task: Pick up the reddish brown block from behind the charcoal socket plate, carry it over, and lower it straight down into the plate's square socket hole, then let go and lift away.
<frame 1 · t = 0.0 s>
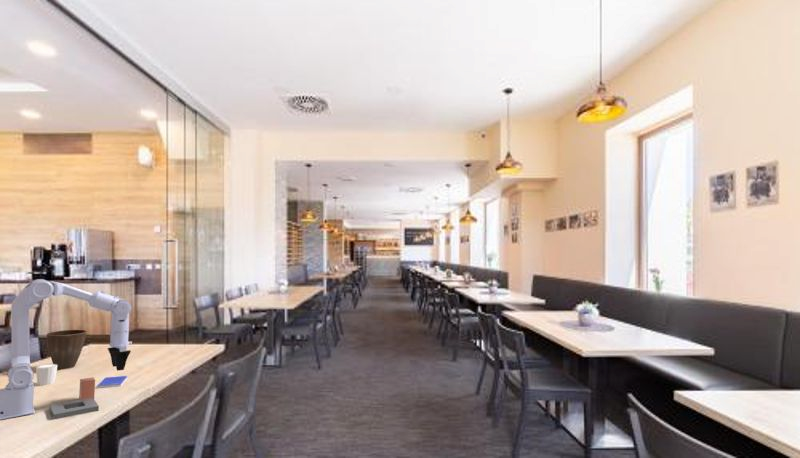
hand: (118, 368, 166), 10 cm above the table, tool pointing down, fingers open, 7 cm apart
white tapered cup: (46, 383, 181), on the table
reddish brown block: (86, 399, 162), on the table
plant pot: (65, 367, 206), on the table
socket plate: (74, 409, 150), on the table
hard drive: (112, 384, 182), on the table
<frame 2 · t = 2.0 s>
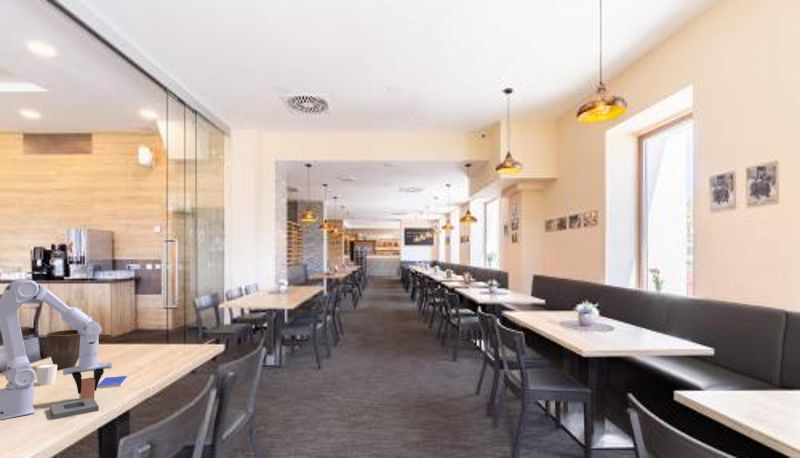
hand: (87, 391, 162), 3 cm above the table, tool pointing down, fingers closed on reddish brown block, 4 cm apart
reddish brown block: (86, 398, 162), on the table, touching gripper
everything else where it was.
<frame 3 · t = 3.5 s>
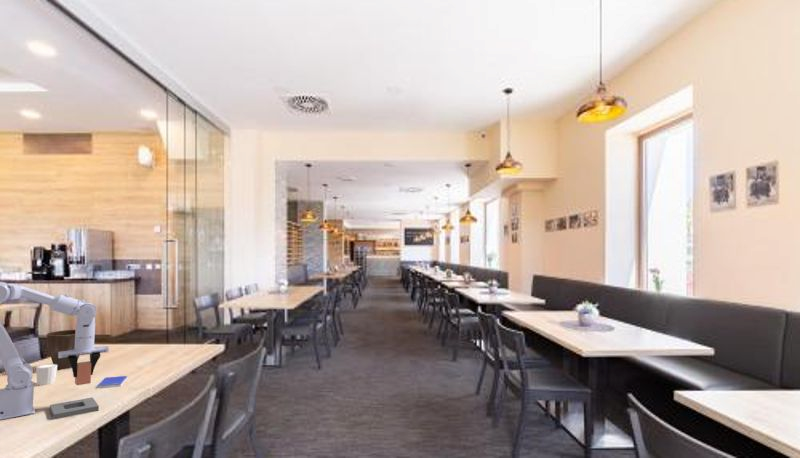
hand: (82, 375, 158), 10 cm above the table, tool pointing down, fingers closed on reddish brown block, 4 cm apart
reddish brown block: (82, 383, 158), point 7 cm above the table, touching gripper
everything else where it was.
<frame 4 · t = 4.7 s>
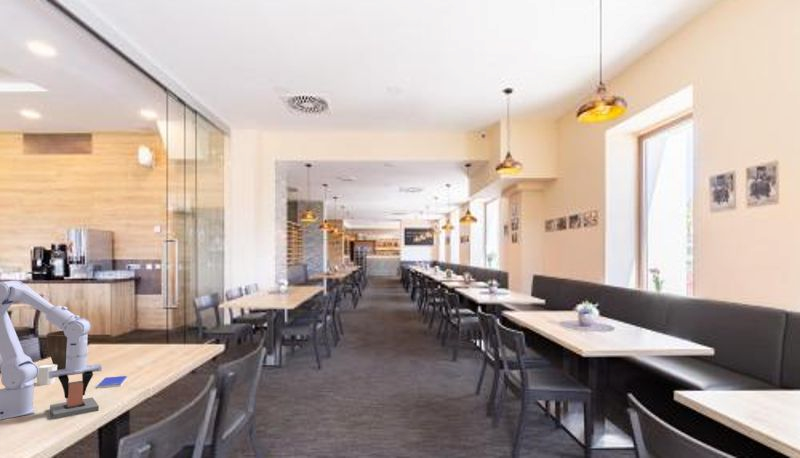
hand: (74, 396, 151), 5 cm above the table, tool pointing down, fingers closed on reddish brown block, 4 cm apart
reddish brown block: (74, 404, 151), point 2 cm above the table, touching gripper
everything else where it was.
when the fingers open (3 cm above the table, at t = 5.5 s): reddish brown block stays where it is, resting in socket plate.
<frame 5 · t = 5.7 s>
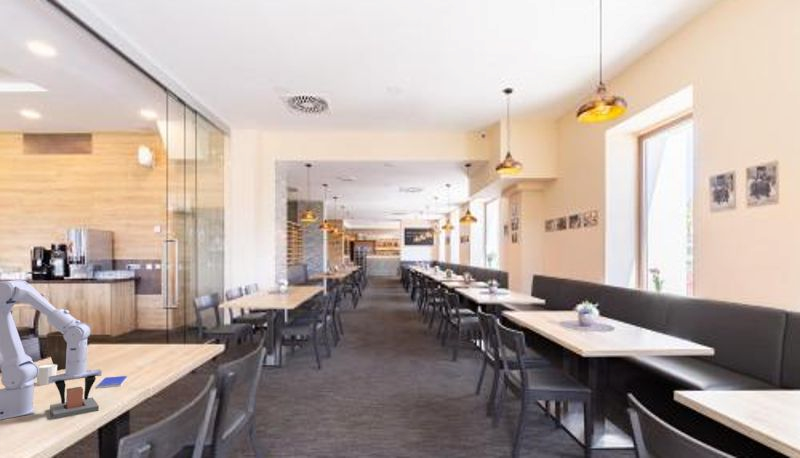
hand: (74, 400, 151), 3 cm above the table, tool pointing down, fingers open, 6 cm apart
reddish brown block: (73, 410, 151), resting in socket plate
everything else where it was.
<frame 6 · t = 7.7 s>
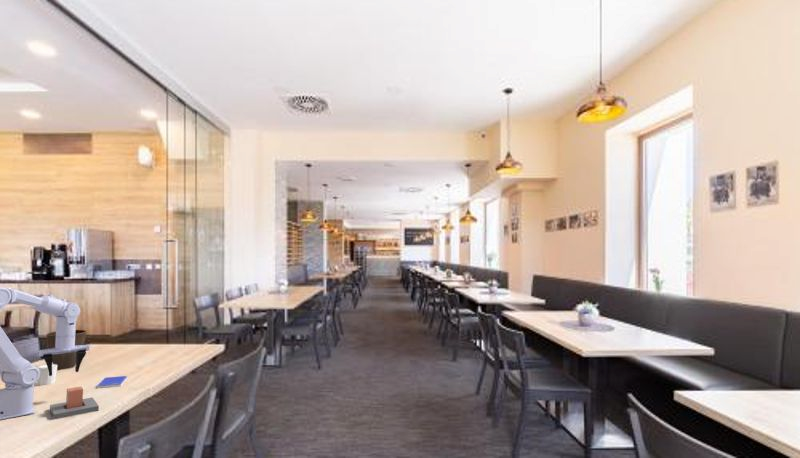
hand: (63, 373, 161), 9 cm above the table, tool pointing down, fingers open, 7 cm apart
nothing on the table moved.
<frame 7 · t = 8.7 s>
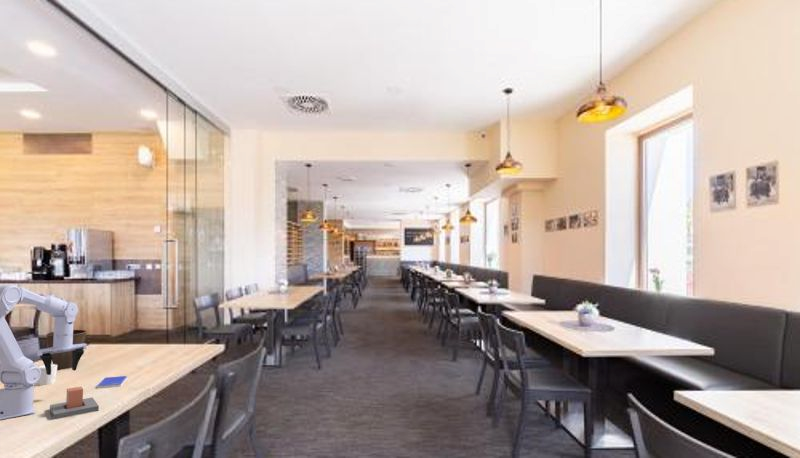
hand: (61, 372, 163), 9 cm above the table, tool pointing down, fingers open, 7 cm apart
nothing on the table moved.
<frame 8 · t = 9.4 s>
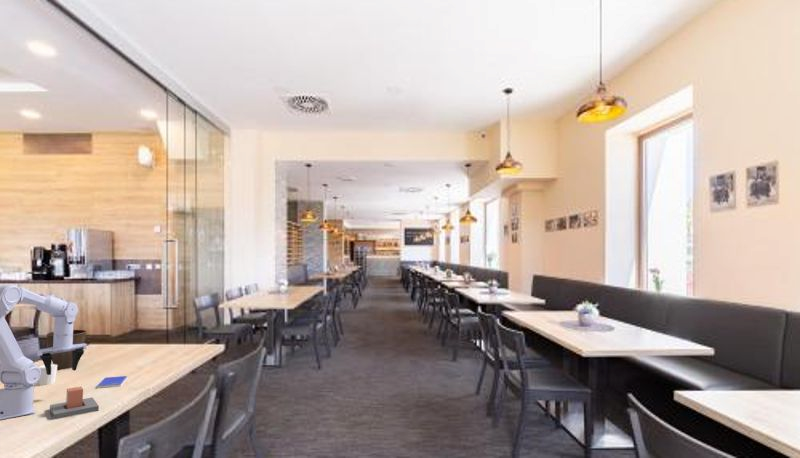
hand: (61, 372, 163), 9 cm above the table, tool pointing down, fingers open, 7 cm apart
nothing on the table moved.
at the end: reddish brown block 0.2 cm off-centre on the socket plate, point 0.0 cm above the socket plate's base; reddish brown block tilted 0°; the gripper is holding nothing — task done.
